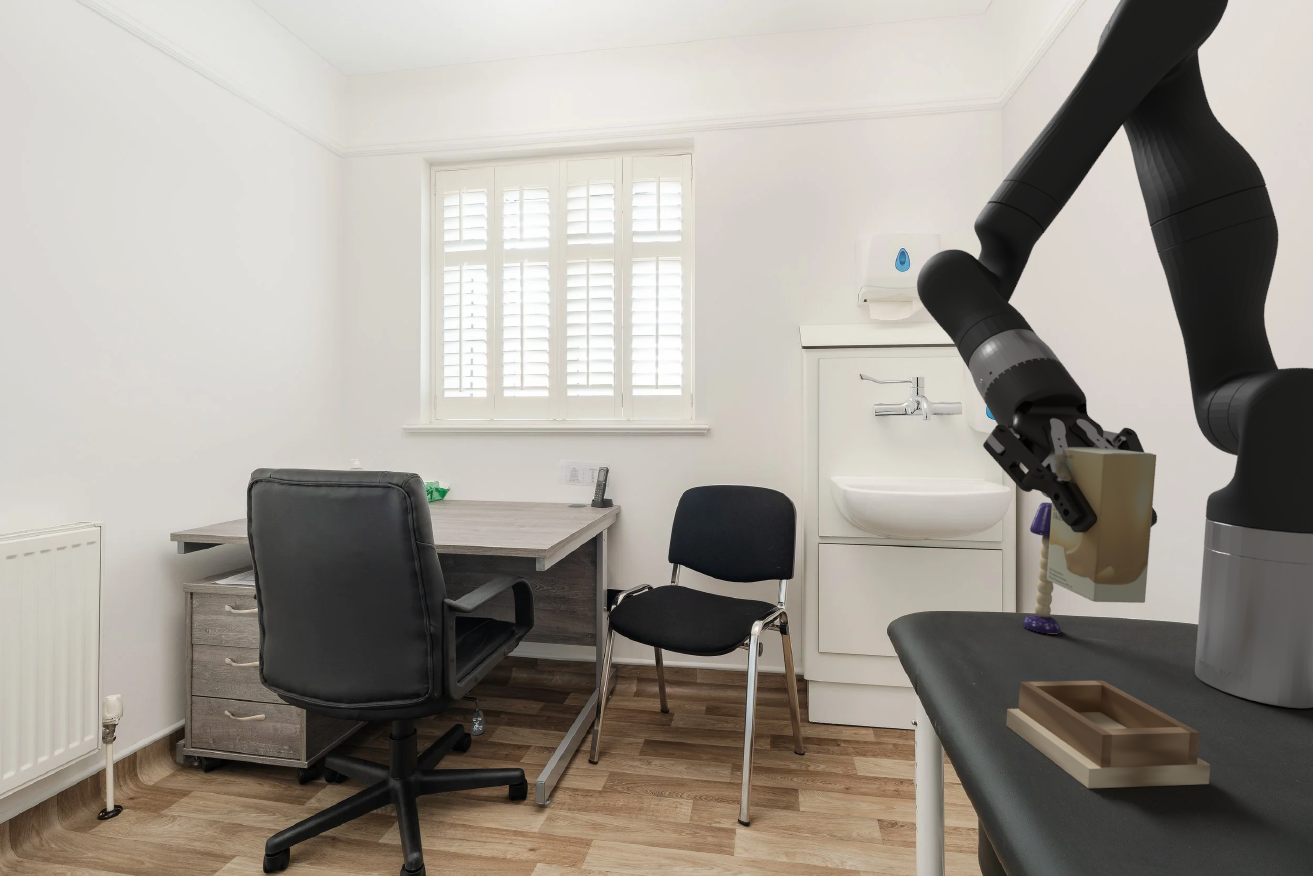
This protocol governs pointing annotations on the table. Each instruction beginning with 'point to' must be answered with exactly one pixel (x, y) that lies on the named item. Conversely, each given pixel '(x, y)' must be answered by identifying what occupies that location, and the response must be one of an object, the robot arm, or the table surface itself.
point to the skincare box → (1106, 526)
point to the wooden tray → (1106, 735)
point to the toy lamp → (1043, 576)
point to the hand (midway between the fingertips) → (1116, 526)
